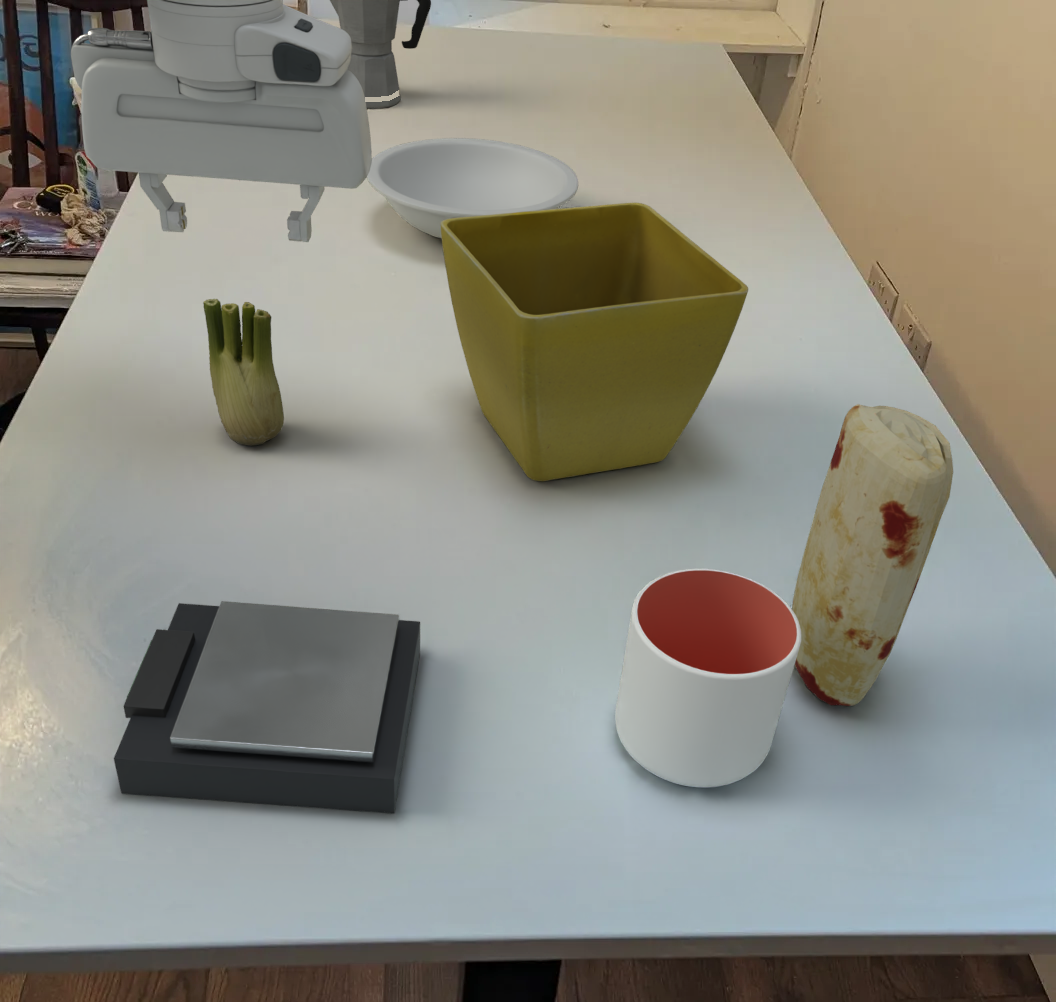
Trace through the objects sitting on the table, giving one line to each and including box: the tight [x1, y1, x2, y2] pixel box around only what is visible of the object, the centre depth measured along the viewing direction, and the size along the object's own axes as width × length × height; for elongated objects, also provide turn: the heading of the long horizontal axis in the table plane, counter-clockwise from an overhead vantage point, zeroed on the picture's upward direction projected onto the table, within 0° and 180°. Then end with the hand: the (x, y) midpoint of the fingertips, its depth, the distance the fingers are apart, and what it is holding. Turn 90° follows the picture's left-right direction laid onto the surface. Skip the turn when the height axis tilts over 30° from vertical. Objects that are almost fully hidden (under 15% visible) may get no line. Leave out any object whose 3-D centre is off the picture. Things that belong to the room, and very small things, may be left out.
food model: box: [791, 403, 954, 707], centre depth 75 cm, size 10×7×20 cm
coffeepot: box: [329, 0, 432, 110], centre depth 167 cm, size 15×9×18 cm, turn 88°
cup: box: [614, 568, 801, 788], centre depth 73 cm, size 10×10×10 cm
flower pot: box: [440, 202, 749, 482], centre depth 98 cm, size 19×19×17 cm
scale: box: [113, 602, 421, 814], centre depth 73 cm, size 16×14×4 cm
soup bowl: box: [366, 137, 579, 240], centre depth 135 cm, size 24×24×7 cm
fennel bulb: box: [202, 298, 285, 446], centre depth 96 cm, size 6×5×12 cm
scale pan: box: [170, 600, 400, 762], centre depth 72 cm, size 12×12×1 cm
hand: (237, 234), depth 89 cm, fingers open, 8 cm apart
